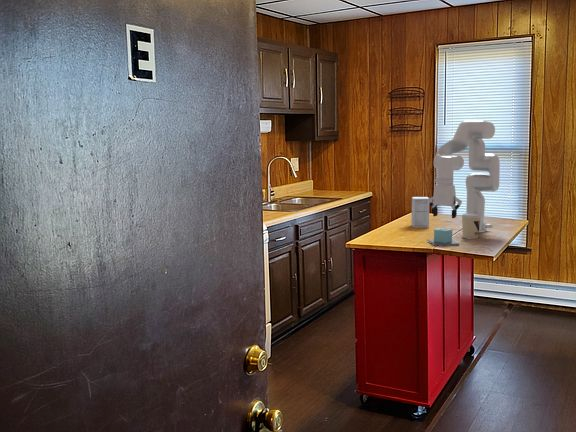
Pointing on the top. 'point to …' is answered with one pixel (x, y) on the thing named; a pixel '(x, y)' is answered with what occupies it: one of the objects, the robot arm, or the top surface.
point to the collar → (442, 235)
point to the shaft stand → (443, 243)
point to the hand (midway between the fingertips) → (444, 216)
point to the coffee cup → (470, 225)
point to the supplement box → (420, 212)
